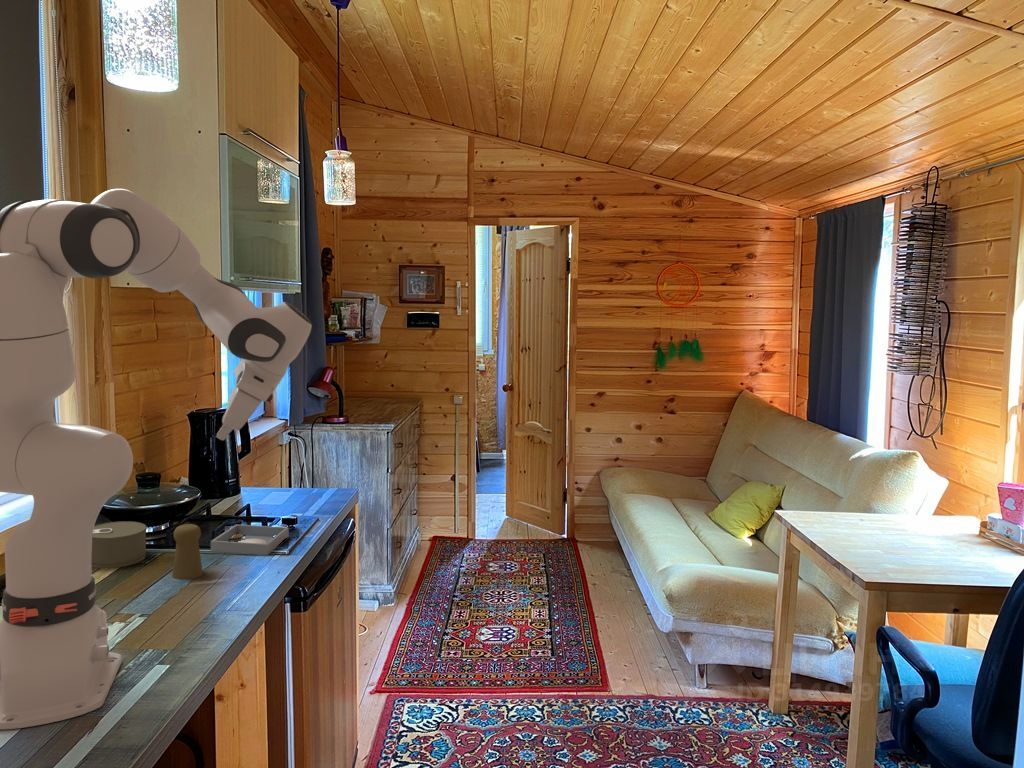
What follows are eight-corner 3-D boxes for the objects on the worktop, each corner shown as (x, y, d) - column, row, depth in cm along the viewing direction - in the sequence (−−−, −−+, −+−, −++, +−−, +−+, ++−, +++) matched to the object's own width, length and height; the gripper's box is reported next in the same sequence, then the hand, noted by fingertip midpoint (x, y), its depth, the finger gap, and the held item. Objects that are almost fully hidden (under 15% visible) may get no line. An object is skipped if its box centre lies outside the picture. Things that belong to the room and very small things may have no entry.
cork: (191, 583, 152) (191, 531, 150) (165, 580, 153) (164, 528, 152) (209, 573, 157) (209, 523, 156) (183, 570, 159) (183, 520, 158)
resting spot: (269, 546, 174) (269, 545, 174) (237, 550, 171) (237, 549, 171) (263, 538, 180) (263, 537, 180) (233, 541, 177) (233, 540, 177)
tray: (267, 557, 168) (267, 544, 168) (210, 554, 169) (210, 541, 169) (288, 539, 181) (288, 527, 181) (235, 536, 182) (235, 524, 182)
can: (147, 565, 161) (146, 534, 161) (83, 572, 156) (82, 540, 155) (146, 547, 172) (146, 519, 171) (86, 553, 166) (86, 524, 166)
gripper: (248, 353, 161) (214, 405, 163) (239, 382, 142) (201, 440, 144) (274, 368, 163) (241, 419, 165) (269, 398, 144) (231, 455, 146)
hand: (222, 429), depth 154 cm, fingers open, 8 cm apart
